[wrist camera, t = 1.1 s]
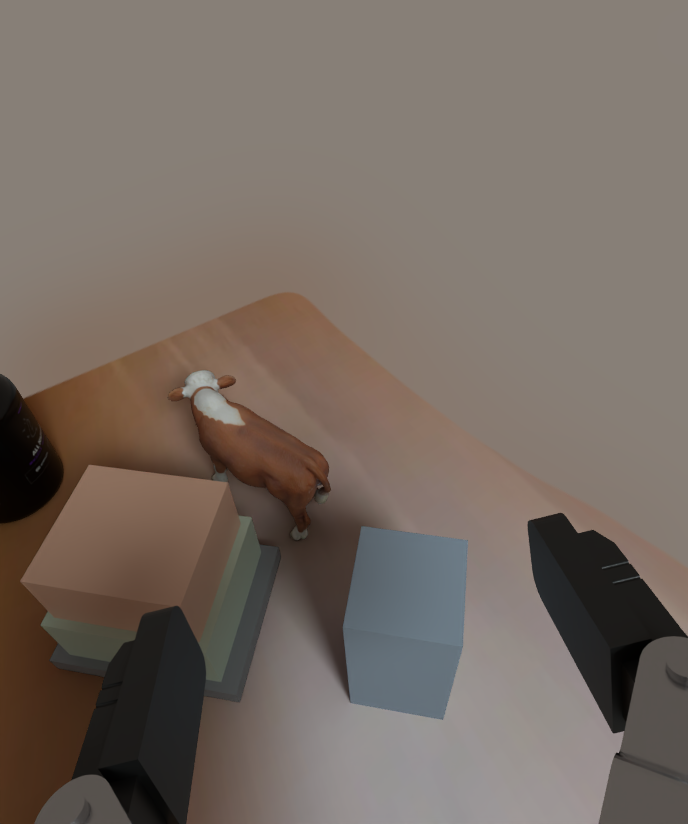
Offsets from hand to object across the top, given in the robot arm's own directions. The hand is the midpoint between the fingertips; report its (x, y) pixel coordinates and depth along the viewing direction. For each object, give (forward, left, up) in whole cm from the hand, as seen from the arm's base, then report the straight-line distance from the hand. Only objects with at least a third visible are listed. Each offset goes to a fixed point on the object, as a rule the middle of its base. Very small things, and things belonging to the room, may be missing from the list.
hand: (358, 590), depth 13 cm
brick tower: (-13, +7, -22) cm, 27 cm away
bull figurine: (-11, +17, -22) cm, 30 cm away
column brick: (+1, +6, -22) cm, 23 cm away
